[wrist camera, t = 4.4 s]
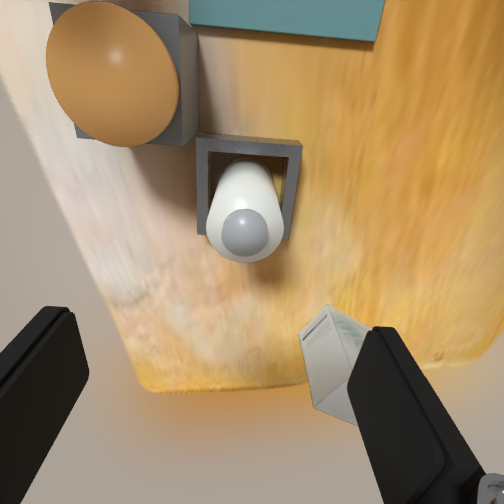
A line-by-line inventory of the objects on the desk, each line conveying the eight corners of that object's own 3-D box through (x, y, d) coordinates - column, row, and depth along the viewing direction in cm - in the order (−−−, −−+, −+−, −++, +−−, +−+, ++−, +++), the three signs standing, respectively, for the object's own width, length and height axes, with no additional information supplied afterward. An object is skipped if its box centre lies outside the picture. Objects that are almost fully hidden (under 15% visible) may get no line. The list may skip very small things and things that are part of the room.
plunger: (188, 25, 19) (171, 8, 15) (191, 138, 23) (178, 151, 18) (79, 14, 19) (28, -6, 14) (99, 130, 22) (63, 142, 18)
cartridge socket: (298, 140, 26) (302, 145, 24) (285, 229, 31) (288, 240, 28) (199, 132, 26) (195, 137, 24) (201, 223, 30) (197, 234, 28)
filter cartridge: (276, 159, 27) (290, 200, 18) (270, 211, 30) (279, 272, 20) (220, 155, 27) (203, 194, 17) (218, 208, 29) (204, 267, 20)
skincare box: (389, 334, 38) (432, 411, 29) (355, 362, 41) (385, 441, 32) (328, 300, 36) (355, 375, 26) (296, 333, 38) (310, 411, 29)
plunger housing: (197, 33, 22) (178, 14, 16) (198, 131, 26) (183, 146, 20) (103, 24, 22) (48, 2, 16) (118, 124, 25) (77, 138, 19)
